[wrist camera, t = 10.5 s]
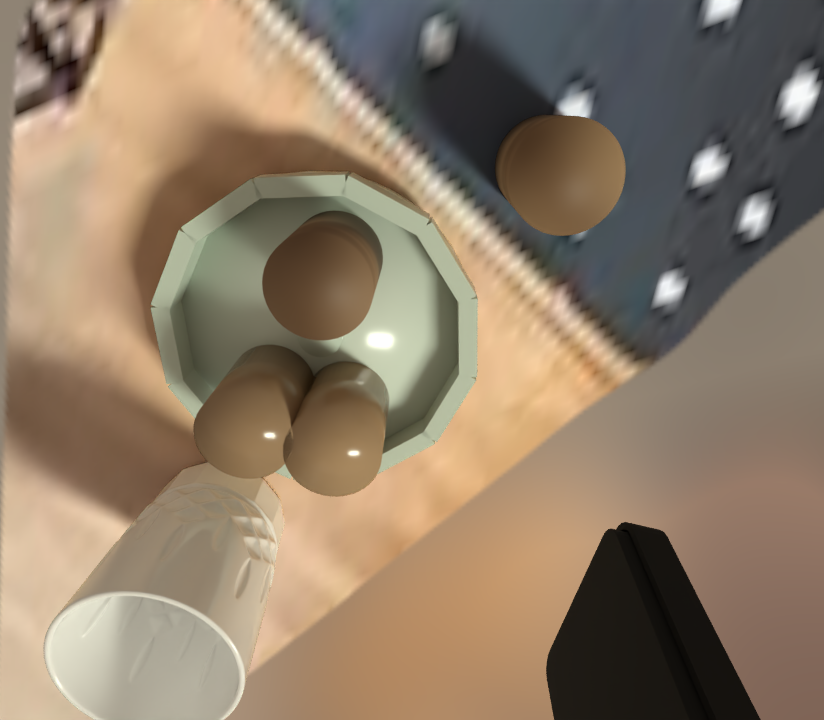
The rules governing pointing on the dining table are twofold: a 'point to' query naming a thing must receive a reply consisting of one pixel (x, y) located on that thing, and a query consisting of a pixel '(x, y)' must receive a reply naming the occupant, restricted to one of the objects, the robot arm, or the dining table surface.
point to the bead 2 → (560, 172)
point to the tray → (314, 359)
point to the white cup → (172, 604)
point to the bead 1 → (324, 276)
